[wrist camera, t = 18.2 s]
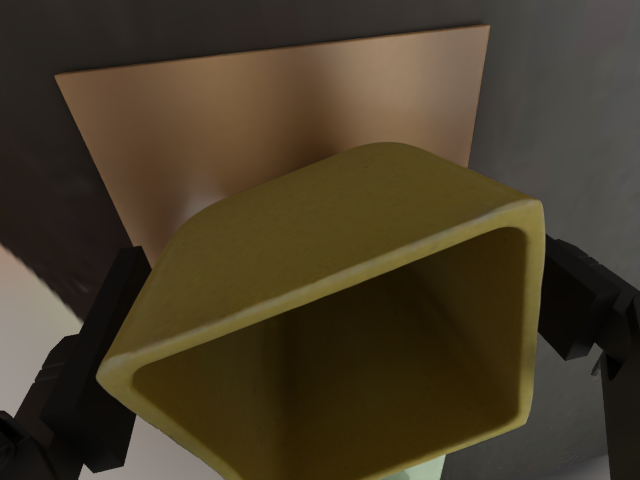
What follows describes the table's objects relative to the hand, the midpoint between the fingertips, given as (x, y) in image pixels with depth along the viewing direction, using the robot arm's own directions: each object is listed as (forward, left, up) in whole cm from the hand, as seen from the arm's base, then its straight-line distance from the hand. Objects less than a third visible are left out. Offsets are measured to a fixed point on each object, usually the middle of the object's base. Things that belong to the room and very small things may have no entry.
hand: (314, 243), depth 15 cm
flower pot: (0, 0, -2) cm, 2 cm away
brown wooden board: (0, 0, -2) cm, 2 cm away
